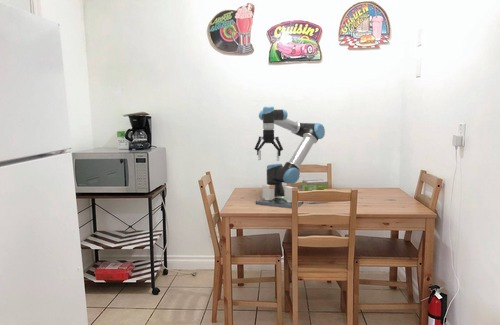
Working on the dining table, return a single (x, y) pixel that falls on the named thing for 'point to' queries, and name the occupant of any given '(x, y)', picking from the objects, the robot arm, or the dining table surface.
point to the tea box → (314, 186)
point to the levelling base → (276, 202)
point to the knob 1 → (268, 192)
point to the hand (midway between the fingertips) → (268, 160)
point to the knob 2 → (289, 193)
